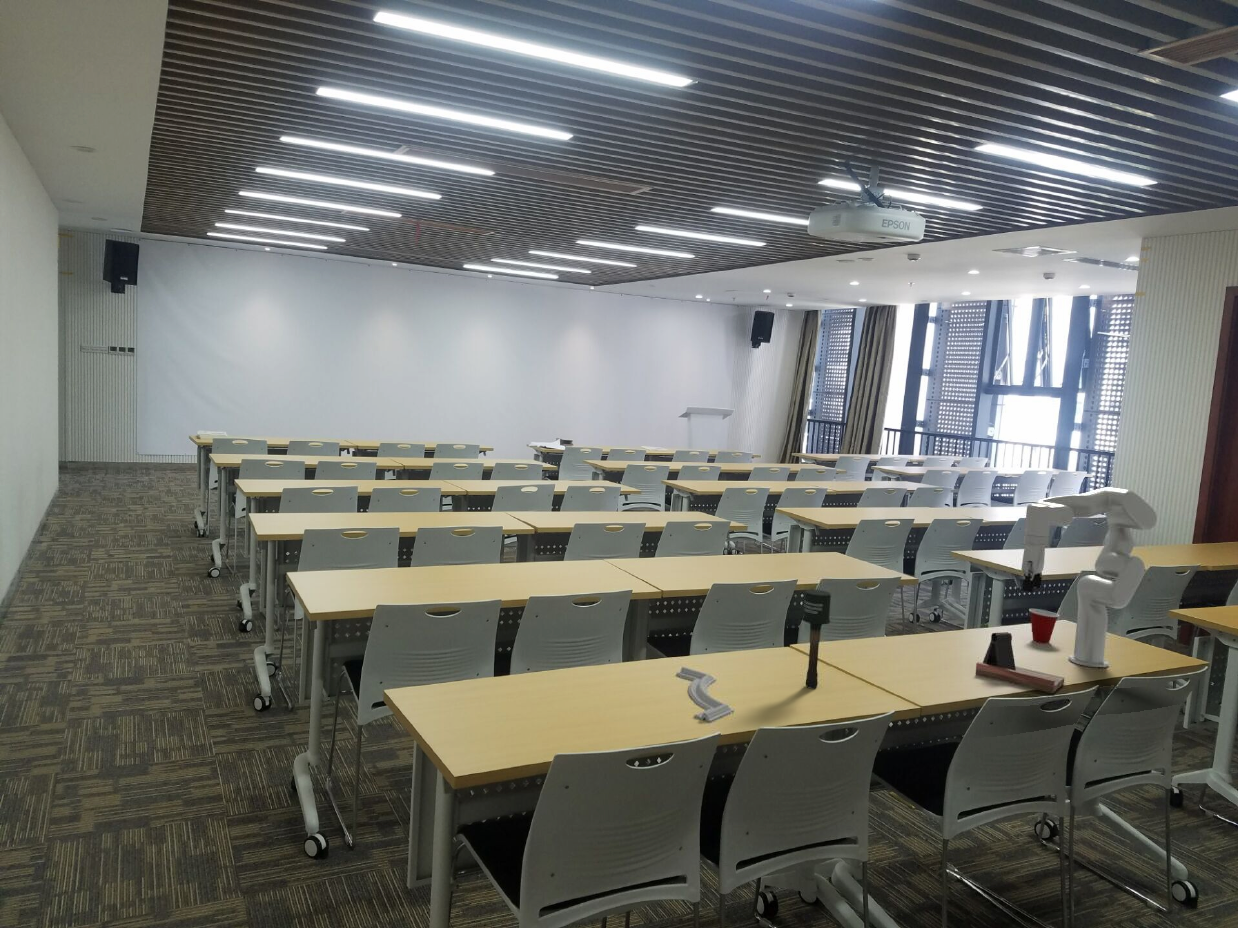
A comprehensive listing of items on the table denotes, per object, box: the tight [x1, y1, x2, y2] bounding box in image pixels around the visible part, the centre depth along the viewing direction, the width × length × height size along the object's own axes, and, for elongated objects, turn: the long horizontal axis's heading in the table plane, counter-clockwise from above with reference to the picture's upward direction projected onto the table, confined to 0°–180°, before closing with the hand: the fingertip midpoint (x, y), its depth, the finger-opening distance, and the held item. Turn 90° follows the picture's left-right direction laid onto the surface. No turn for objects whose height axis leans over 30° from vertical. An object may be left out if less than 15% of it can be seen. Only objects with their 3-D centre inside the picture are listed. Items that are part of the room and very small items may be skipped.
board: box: [975, 661, 1065, 694], centre depth 288 cm, size 14×24×4 cm, turn 50°
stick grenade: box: [801, 589, 832, 689], centre depth 268 cm, size 8×9×30 cm
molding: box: [675, 666, 735, 724], centre depth 257 cm, size 42×12×3 cm, turn 5°
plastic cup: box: [1028, 608, 1060, 645], centre depth 337 cm, size 11×11×12 cm
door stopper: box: [982, 631, 1016, 671], centre depth 293 cm, size 9×6×12 cm, turn 16°
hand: (1031, 589), depth 297 cm, fingers open, 9 cm apart
